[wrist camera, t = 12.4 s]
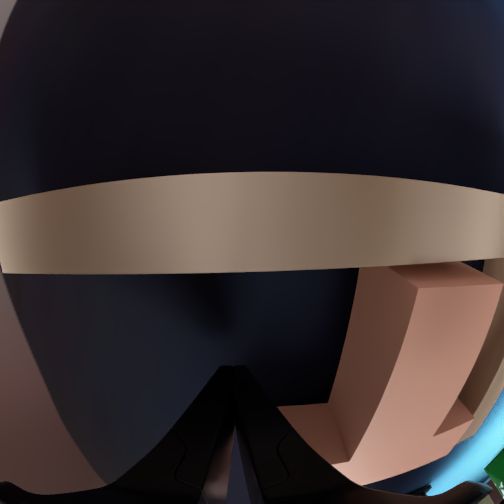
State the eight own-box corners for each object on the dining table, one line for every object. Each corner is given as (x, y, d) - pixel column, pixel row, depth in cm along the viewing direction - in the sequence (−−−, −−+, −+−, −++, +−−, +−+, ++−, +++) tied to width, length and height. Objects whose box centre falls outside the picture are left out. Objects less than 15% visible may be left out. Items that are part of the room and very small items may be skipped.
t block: (483, 256, 9) (536, 280, 6) (422, 416, 12) (447, 454, 9) (275, 246, 9) (297, 289, 5) (256, 443, 11) (261, 500, 8)
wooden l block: (511, 197, 9) (555, 207, 6) (452, 406, 12) (474, 434, 9) (48, 193, 8) (-8, 203, 5) (122, 442, 11) (108, 483, 8)
